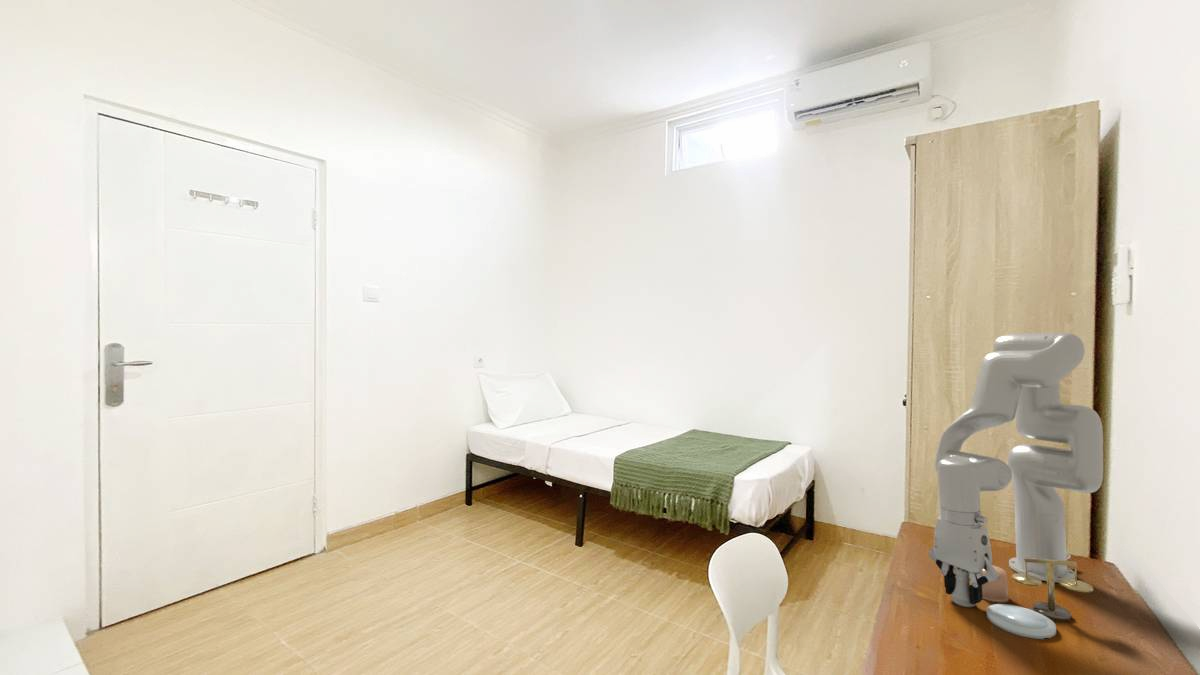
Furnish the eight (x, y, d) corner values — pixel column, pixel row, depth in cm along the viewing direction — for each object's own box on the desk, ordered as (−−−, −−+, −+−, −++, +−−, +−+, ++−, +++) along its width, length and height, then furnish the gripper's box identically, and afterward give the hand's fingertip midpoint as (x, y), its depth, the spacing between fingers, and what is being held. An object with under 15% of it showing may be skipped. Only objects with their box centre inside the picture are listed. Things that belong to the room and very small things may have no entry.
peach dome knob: (983, 586, 120) (982, 561, 120) (1014, 598, 114) (1013, 571, 114) (967, 592, 117) (966, 566, 117) (998, 605, 111) (997, 578, 111)
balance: (1021, 596, 115) (1019, 541, 115) (1100, 625, 102) (1098, 564, 103) (1007, 602, 112) (1004, 546, 112) (1086, 633, 100) (1083, 570, 100)
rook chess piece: (980, 608, 110) (978, 572, 110) (957, 607, 111) (955, 570, 111) (969, 598, 114) (968, 563, 114) (947, 597, 115) (946, 562, 115)
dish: (1004, 604, 111) (1004, 598, 111) (1067, 629, 101) (1067, 623, 101) (975, 617, 107) (975, 611, 107) (1038, 644, 97) (1038, 637, 97)
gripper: (1012, 524, 107) (1016, 610, 106) (931, 502, 122) (935, 578, 122) (992, 531, 103) (996, 620, 103) (911, 507, 119) (915, 585, 118)
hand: (963, 596), depth 112 cm, fingers closed on rook chess piece, 4 cm apart
